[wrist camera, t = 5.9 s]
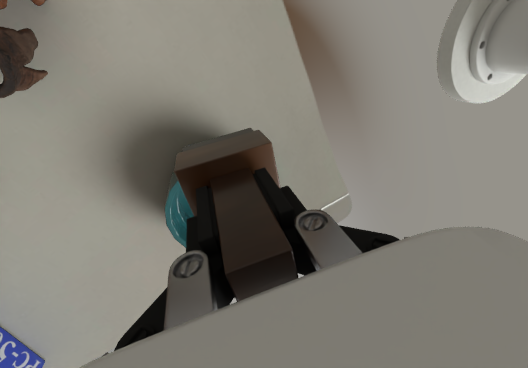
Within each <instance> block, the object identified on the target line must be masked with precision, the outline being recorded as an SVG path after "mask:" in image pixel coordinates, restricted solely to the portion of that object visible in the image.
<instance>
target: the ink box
mask: <svg viewBox="0 0 528 368" xmlns="http://www.w3.org/2000/svg"><path fill="white" fill-rule="evenodd" d="M44 363H45V360H43V359H42V358H41V357H39V356H38V355H37V354H35V353H34V352H33V351H31V350H30V349H29V348H27V347H26V346H25V345H24V344H22V343H21V342H20V341H18V340H17V339H16V338H14V337H13V336H12V335H10V334H9V333H8V332H7V331H5V330H4V329H3V328H1V327H0V368H42V367H43V365H44Z"/></svg>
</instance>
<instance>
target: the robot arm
mask: <svg viewBox="0 0 528 368" xmlns="http://www.w3.org/2000/svg"><path fill="white" fill-rule="evenodd" d="M469 60H470V68H471V71H472V74H473V76H474V77H475V78H476V79H477V80H478V81H479V82H482V83H485V84H499V83H502V82H505V81H507V80H508V79H510V78H512V77H513V76H515V75H516V74H528V0H493V2H492V3H491V4H490V5H489V7H488V8H487V10H486V11H485V13H484V14H483V16H482V18H481V20H480V22H479V24H478V26H477V28H476V30H475V33H474V36H473V39H472V43H471V48H470V57H469ZM254 172H255V173H254V174H252V175H253V177H254V178H255V180H256V182H257V184H258V186H259V188H260V190H261V191H262V193H263V195H264V197H265V199H266V201H267V203H268V204H269V206H270V208H271V210H272V212H273V214H274V215H275V217H276V219H277V221H278V223H279V225H280V227H281V228H282V230H283V232H284V234H285V236H286V238H287V240H288V241H289V243H290V245H291V247H292V249H293V254H294V259H295V264H296V269H297V273H299V274H302V275H304V276H303V277H301V278H298V279H295V280H292V281H290V282H287V283H285V284H282V285H279V286H277V287H274V288H272V289H269V290H267V291H264V292H261V293H259V294H256V295H254V296H251V297H249V298H246V299H243V300H241V301H238V302H236V303H233V304H231V305H230V303H231V301H232V300H233V298H235V296H234V294H233V291H232V289H231V287H230V284H229V282H228V280H227V278H226V275H225V271H224V265H223V259H222V253H221V246H220V240H219V234H218V227H217V221H216V214H215V208H214V202H213V196H212V189H211V187H210V188H208V187H207V186H204V187H201V188H197V189H196V206H197V216H194V217H191V218H188V219H187V232H186V253H185V254H183V255H181V256H180V257H178V258H177V259H176V260H175V261H174V262H173V264H172V265H171V267H170V270H169V276H168V287H167V288H166V289H165V290H164V292H163V293H162V294H161V295H160V296H159V297H158V298H157V299H156V300H155V301H154V302H153V304H152V305H151V306H150V307H149V308H148V309H147V310H146V311H145V312H144V313H143V314H142V316H141V317H140V318H139V319H138V320H137V321H136V322H135V323H134V324H133V325H132V327H131V328H130V329H129V330H128V331H127V332H126V333H125V334H124V335H123V337H122V338H121V339H120V341H119V342H118V344H117V346H116V348H115V350H114V352H111V353H108V352H107V353H106V354H104V355H103V356H102V357H100V358H98V359H96V360H93V361H91V362H89V363H87V364H85V365H84V366H82V367H80V368H528V242H527V241H525V240H523V239H521V238H519V237H516V236H514V235H511V234H508V233H505V232H502V231H499V230H495V229H490V228H482V227H454V228H445V229H439V230H433V231H429V232H426V233H421V234H417V235H414V236H411V237H404V239H402V240H399V239H398V238H396V237H394V236H391V235H387V234H382V233H377V232H371V231H366V230H360V229H355V228H350V227H344V226H339V225H338V224H337V223H336V222H335V221H334V220H333V219H332V217H331V216H330V215H329V214H327V213H326V212H324V211H322V210H306V208H305V207H304V206H303V204H302V203H301V202H300V201H299V199H298V198H297V197H296V195H295V194H294V193H293V192H292V190H291V189H290V188H289V187H288V186H285V187H282V188H279V187H278V186H277V184H276V183H275V181H274V180H273V178H272V177H271V175H270V174H269V173H268V171H267V170H266V168H265V167H264V168H261V169H258V170H255V171H254Z"/></svg>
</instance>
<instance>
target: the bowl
mask: <svg viewBox="0 0 528 368" xmlns="http://www.w3.org/2000/svg"><path fill="white" fill-rule="evenodd" d="M165 216H166V224H167V226H168V228H169V230H170V232H171V233H172V235H173V237H174V238H175V239H176V240H177V241H178V242H179V243H180V244H182V245H183V246H184V247H185V248H186V232H187V219H188V218H191V217H194V215H193V213H192V210H191V208H190V206H189V204H188V201H187V199H186V197H185V195H184V193H183V190H182V188H181V186H180V184H179V182H178V179H177V177H176V175H175V173H174V171H173V173H172V176H171V179H170V183H169V187H168V192H167V197H166V203H165Z"/></svg>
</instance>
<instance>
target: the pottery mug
mask: <svg viewBox="0 0 528 368" xmlns="http://www.w3.org/2000/svg"><path fill="white" fill-rule="evenodd" d="M31 1H32V2H33V3H34V4H36V5H38V6H40V5H42V4H43V3H44V2H45V1H46V0H31ZM6 6H7V0H0V9H4V8H5V7H6ZM37 46H38V41H37V39H36V37H35V34H34V33H33V31H32V30H31V29H29V28H25V29H22V30H19V31H16V30H14V29H10V28H4V27H0V69H1V71H2V73H3V75H4V78H3V79H4V80H3V83H2V84H0V98H5V97H7V96H9V95H11V94H13V93H14V92H15V91H23V90H26V89H29V88H30V87H31V86H32V85H34V84H35V83H36V82H38V81H39V80H41V79H43V78H44V77H45V76H46V75H47V74H48V72H47V71H45V70H34V69H31V68H28V67H25V66H24V65H26V64H28V63H30V62H31V60H32V59H33V56H34V50H35V49H36V48H37Z"/></svg>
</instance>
